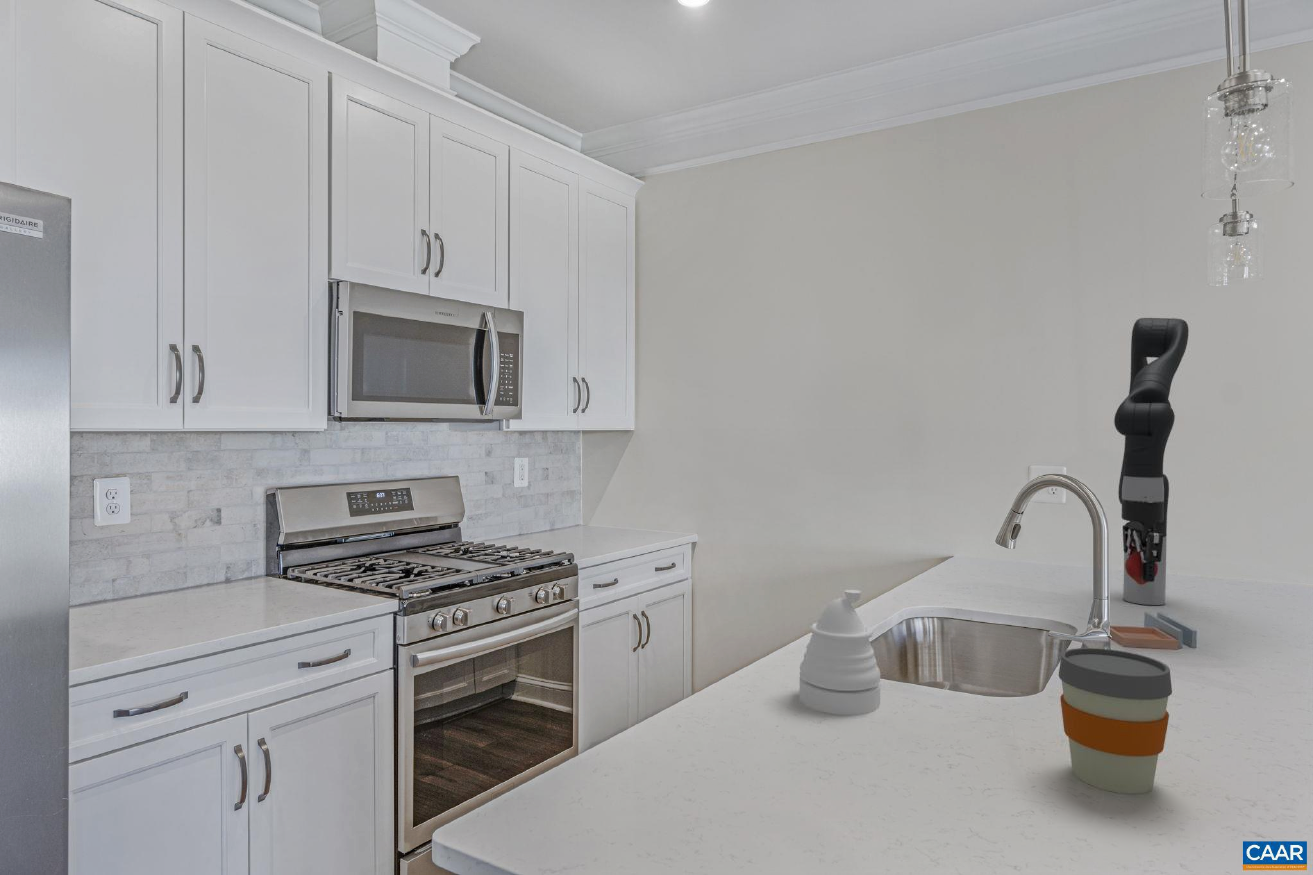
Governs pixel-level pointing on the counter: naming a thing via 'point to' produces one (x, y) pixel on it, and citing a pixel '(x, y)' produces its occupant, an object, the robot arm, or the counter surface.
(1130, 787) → the reusable coffee cup
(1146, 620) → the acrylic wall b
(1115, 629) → the terracotta dish
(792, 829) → the counter surface
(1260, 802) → the counter surface
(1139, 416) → the robot arm
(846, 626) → the honey pot
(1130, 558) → the pomegranate
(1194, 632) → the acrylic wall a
